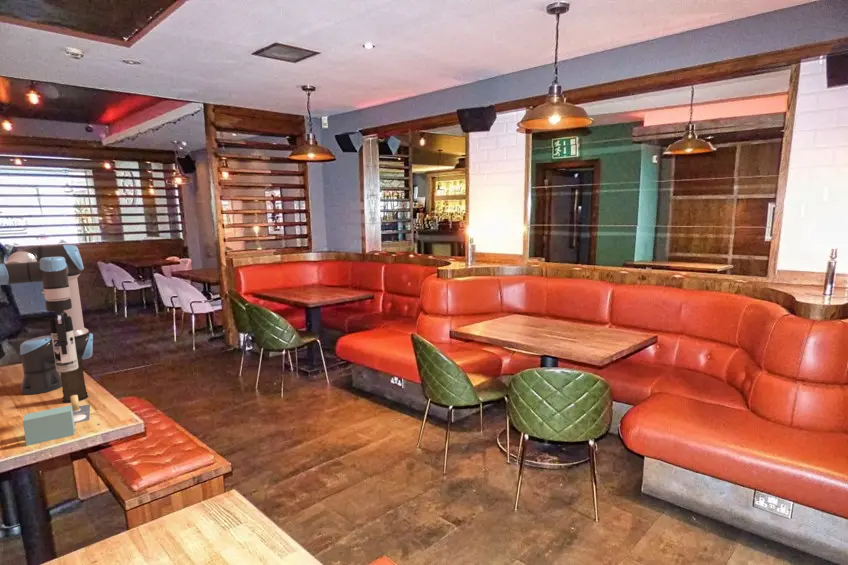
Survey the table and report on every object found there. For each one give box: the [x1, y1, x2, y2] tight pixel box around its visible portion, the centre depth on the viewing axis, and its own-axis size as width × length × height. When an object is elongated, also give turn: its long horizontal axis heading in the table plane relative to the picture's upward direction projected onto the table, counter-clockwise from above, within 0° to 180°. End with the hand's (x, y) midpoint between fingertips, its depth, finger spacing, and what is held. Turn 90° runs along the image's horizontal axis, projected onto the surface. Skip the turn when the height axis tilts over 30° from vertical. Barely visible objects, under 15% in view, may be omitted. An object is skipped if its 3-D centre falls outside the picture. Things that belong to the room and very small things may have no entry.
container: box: [59, 357, 89, 404], centre depth 199 cm, size 9×9×18 cm
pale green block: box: [22, 404, 76, 447], centre depth 167 cm, size 7×13×9 cm, turn 124°
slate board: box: [70, 395, 91, 424], centre depth 181 cm, size 18×17×7 cm
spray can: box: [49, 316, 78, 374], centre depth 176 cm, size 7×7×20 cm
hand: (66, 359), depth 177 cm, fingers closed on spray can, 7 cm apart
